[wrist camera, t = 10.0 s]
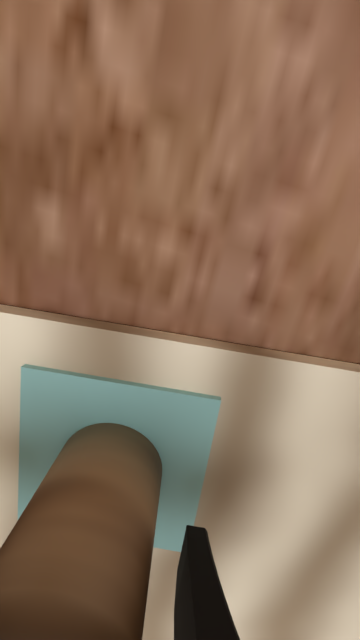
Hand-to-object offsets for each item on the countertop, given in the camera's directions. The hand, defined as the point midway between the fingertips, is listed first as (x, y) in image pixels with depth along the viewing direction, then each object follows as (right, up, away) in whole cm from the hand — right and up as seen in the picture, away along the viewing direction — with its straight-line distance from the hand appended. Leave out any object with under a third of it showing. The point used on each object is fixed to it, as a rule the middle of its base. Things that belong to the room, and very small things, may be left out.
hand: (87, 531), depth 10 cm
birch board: (+3, -6, +6) cm, 9 cm away
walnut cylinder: (0, +1, +3) cm, 3 cm away
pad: (0, +1, +4) cm, 4 cm away
